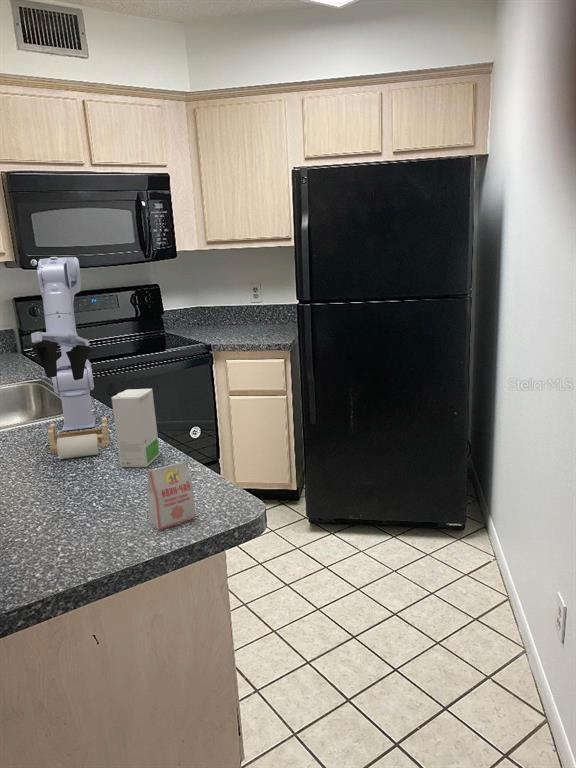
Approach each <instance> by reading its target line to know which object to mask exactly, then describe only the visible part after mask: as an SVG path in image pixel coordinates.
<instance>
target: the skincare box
mask: <svg viewBox="0 0 576 768" xmlns="http://www.w3.org/2000/svg"><path fill="white" fill-rule="evenodd" d="M154 402H155V401H154V392H153V388H138V389H136V388H135V389H134V388H133V389H131V388H130V389H125V390H124V391H121V392H118V393H117V394H116V395H113V396H111V405H112V411H113V420H114V421H113V422H114V427H115V428H114V429H115V435H116V443H117V452H118V460H119V467H120V468H147V467H149V465H151V464H152V463H153V462H154V461H155V460H156V459H157V458H158V457H159V456H161V455H160V445H159V437H158V429H157V428H158V427H157V419H156V412H155V411H156V410H155V403H154Z"/></svg>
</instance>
